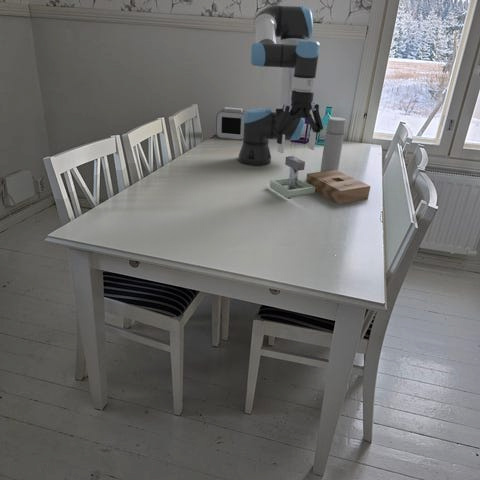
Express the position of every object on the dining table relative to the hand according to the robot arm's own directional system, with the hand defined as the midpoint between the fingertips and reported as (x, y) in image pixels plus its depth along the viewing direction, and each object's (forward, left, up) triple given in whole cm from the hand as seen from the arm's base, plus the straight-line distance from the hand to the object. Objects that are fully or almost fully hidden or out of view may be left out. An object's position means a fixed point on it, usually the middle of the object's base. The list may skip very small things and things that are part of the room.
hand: (296, 150), depth 154 cm
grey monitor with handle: (-85, +17, -16) cm, 88 cm away
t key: (0, 0, -15) cm, 15 cm away
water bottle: (-7, +23, -16) cm, 29 cm away
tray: (0, 0, -16) cm, 16 cm away
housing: (+9, +14, -16) cm, 23 cm away
